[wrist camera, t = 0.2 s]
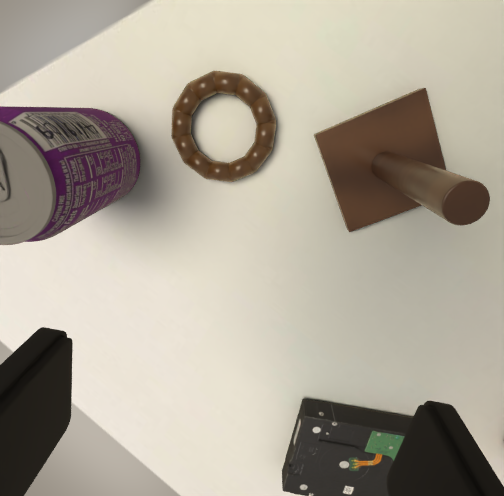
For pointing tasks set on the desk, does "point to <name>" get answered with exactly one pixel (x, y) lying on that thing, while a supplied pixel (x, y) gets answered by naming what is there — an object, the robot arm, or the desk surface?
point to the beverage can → (60, 168)
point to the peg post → (395, 166)
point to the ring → (247, 94)
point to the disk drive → (342, 450)
